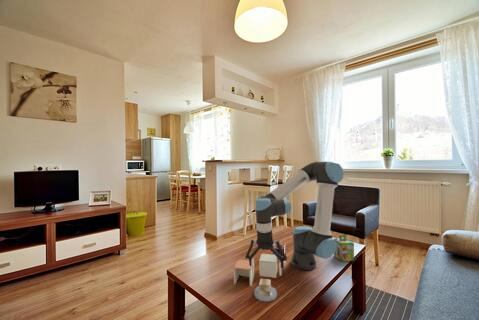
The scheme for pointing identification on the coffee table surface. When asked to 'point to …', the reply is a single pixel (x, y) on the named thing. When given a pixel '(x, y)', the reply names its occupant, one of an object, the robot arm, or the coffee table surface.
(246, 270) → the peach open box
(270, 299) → the dish
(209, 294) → the coffee table surface
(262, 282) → the block
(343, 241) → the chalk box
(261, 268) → the pale green cube
